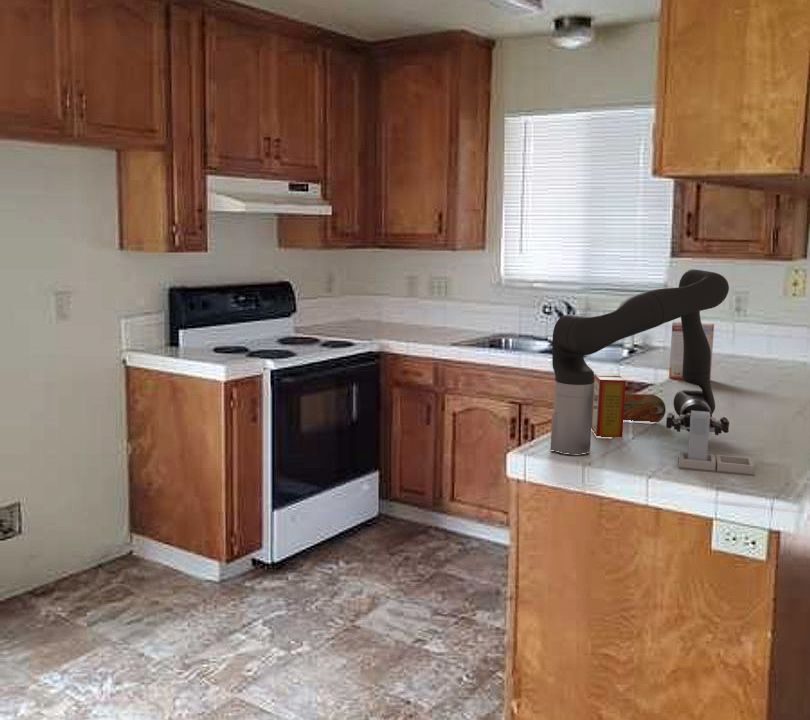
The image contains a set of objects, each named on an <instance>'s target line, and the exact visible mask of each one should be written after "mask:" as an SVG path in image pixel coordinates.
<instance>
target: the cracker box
mask: <svg viewBox="0 0 810 720" xmlns="http://www.w3.org/2000/svg"><path fill="white" fill-rule="evenodd" d="M701 324H702V327H703V330H704V333H705V335H706V338H707V340H708V343H709V346H710V350H711V366H710V379H711V378H712V376H711V375H712V365H713V364H712V363H713V362H712V361H713V346H714V333H715V331H714V329H715V324H714V323H706V322H704V323H702V322H701ZM671 325H672V326H671V339H670V351H669V353H670V354H669V355H670V357H669V370H668V371H669V372H668V378H669V379H675V380H676V379H677V380H683V378H682V370H683V350H684V345H683V331H682V323H681V321H675V322H672V324H671Z"/></svg>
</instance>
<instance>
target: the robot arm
mask: <svg viewBox="0 0 810 720" xmlns="http://www.w3.org/2000/svg"><path fill="white" fill-rule="evenodd" d="M678 282H679V284H678V287H667V288H655V289H650V290H645V291H642V292H640V293H637V294H635V295H631V296H630V297H627V298H626V299H624V300H623V301H622V302H621V303H620V304H619V306H618V307H617V308H616V309H614V310H613V311H611V312H607V313H604V314H600V315H596V316H585V315H579V314H571V313H570V314H564V315H562V316H561V317H559V318H558V320H557V321H556V322H555V324H554V327H553V331H552V338H551V339H552V343H551V344H552V347H551V348H552V350H551V351H552V353H551V354H552V356H551V357H552V359H551V360H552V362H551V365H552V370H553V372H554V393H553V396H554V397H553V412H552V414H551V429H550V430H551V432H550V450H554V451H559V452H562V453H569V454H582V453H587V452H589V451H590V452H591V446H592V445H591V439H592V431H591V426H592V409H593V391H594V374H595V372H594V370H593V369H592V368H591V367H590V366H589V365H588V364H587V363H586V360H585V358H584V356H590V355H593V354H595V353H597V352H599V351H601V350H603V349H605V348H606V347H609V346H611V345H612V344H615V343H616V342H618V341H621V340H623V339H625V338H629V337H632V336H635V335H638V334H640V333H642V332H646V331H649V330H652V329H654V328H656V327H659V326H661V325H663V324H666V323H669V322H671V321H674V320H676V319H679V318H680V322H681V323H682V331H683V345H684V350H683V370H682V378H683V379H682V380H683V381H684V382H685V383H687V384H691V385H695V386H698V387H699V388H700V389H701V390H695V389H694V390H689V389H683V390H678V392H676V393H675V395H674V398H673V407H674V409H673V410H674V411H675V413H676V414H677V416H675V415H676V414H674V413H672V412H668V413H667V415H666V420H665V423H666V424H665V428H667V429H671V428H672V427H673V430H676V432H679V433H680V432H681V430H683V431H685V430H686V431H687V432H688V433H689V432H690V419H691V411H704V412H710V426H709V433H714V435H715V436H719V435H720V434H722V432H723V433H725V434H729V433H730V431H729V427H730V421H729V419H728V418H727V417H724V416H723V417H721V418H719V419H716V418H715V417H713V414H714V413H715V411H716V402H715V397H714V394H713V390H712V384H711V378H710V366H711V367H712V364H711V350H710V346H709V343H708V340H707V338H706V335H705V333H704V330H703V327H702V324H701V323H702V321H701V311H706V310H709V309H714V308H716V307H718V306H719V305H721V304H722V303H723V302H724V301H725V299H726V298H727V297H728V294H729V292H730V291H729V290H730V285H729V282H728V280H727V279H726V277H724V275H722V274H720V273H717V272H714V271H709V270H703V269H693V268H692V269H688V270H687V271H685V272H684V273H683V274H682V276H681V277H680V280H679V281H678ZM550 450H549V451H550Z"/></svg>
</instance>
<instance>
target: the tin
mask: <svg viewBox="0 0 810 720" xmlns="http://www.w3.org/2000/svg"><path fill="white" fill-rule="evenodd" d="M666 410H667V409H666V404H665V402H664V400H662V398H661V397H659V396H657V395H655V394H650V393H648V394H647V393H626V392H625V401H624V417H623V420H631V421H632V420H633V421H650V422H658V423H659V422H661V420H663V419H664V417H665V414H666Z"/></svg>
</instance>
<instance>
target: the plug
mask: <svg viewBox="0 0 810 720" xmlns="http://www.w3.org/2000/svg"><path fill="white" fill-rule="evenodd" d="M709 426H710V412H704V411H691V419H690V432H688V433H689V435H688V447H687V450H688V451H687V452H688V459H691V460H702V461H707V454H708V453H709V451H708V450H709V448H708V447H709V439H710V438H709V437H710V432H709Z"/></svg>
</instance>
